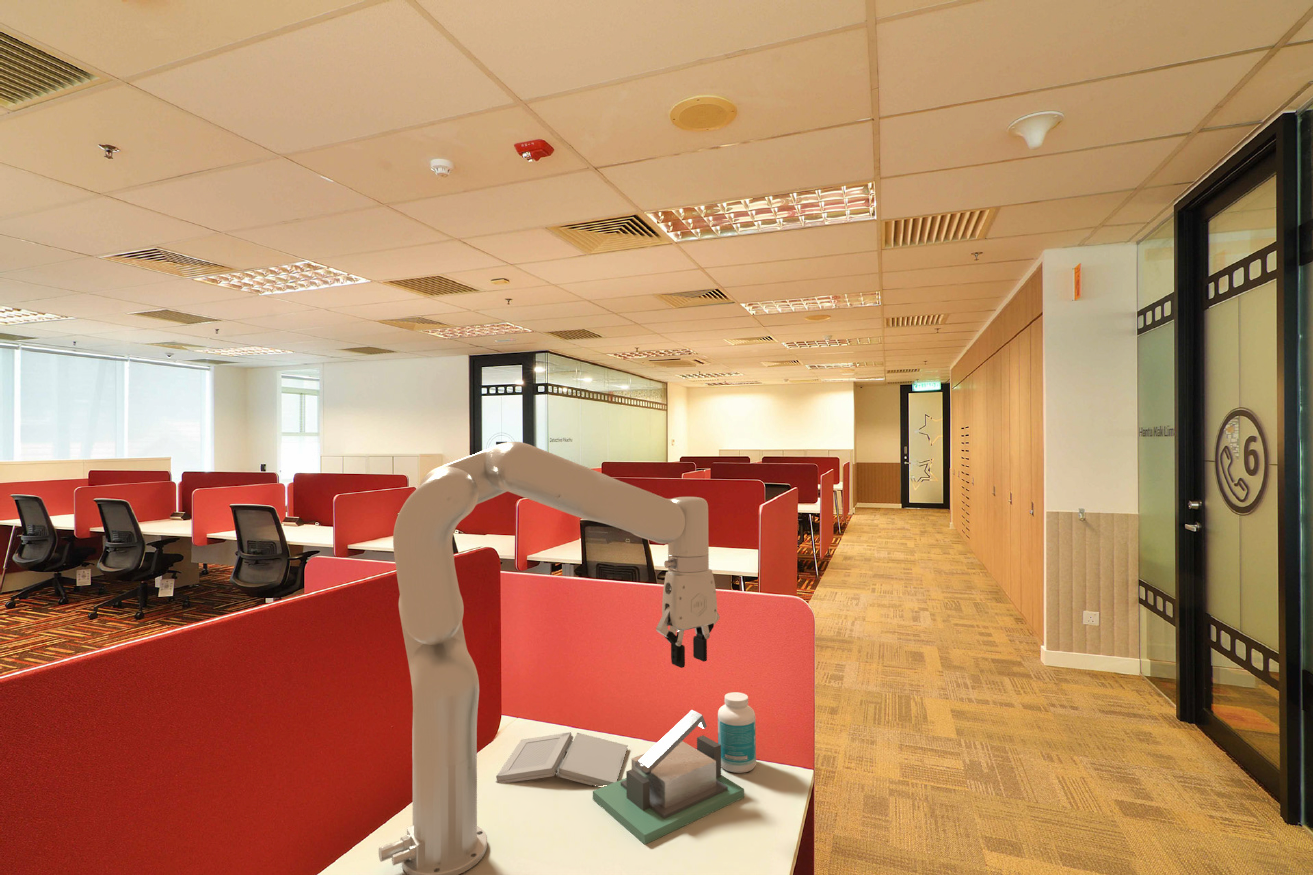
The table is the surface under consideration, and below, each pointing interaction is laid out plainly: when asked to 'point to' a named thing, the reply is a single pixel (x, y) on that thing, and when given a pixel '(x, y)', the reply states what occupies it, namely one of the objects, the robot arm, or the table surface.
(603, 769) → the gadget
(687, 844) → the table surface
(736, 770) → the pill bottle
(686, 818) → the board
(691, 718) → the strap
